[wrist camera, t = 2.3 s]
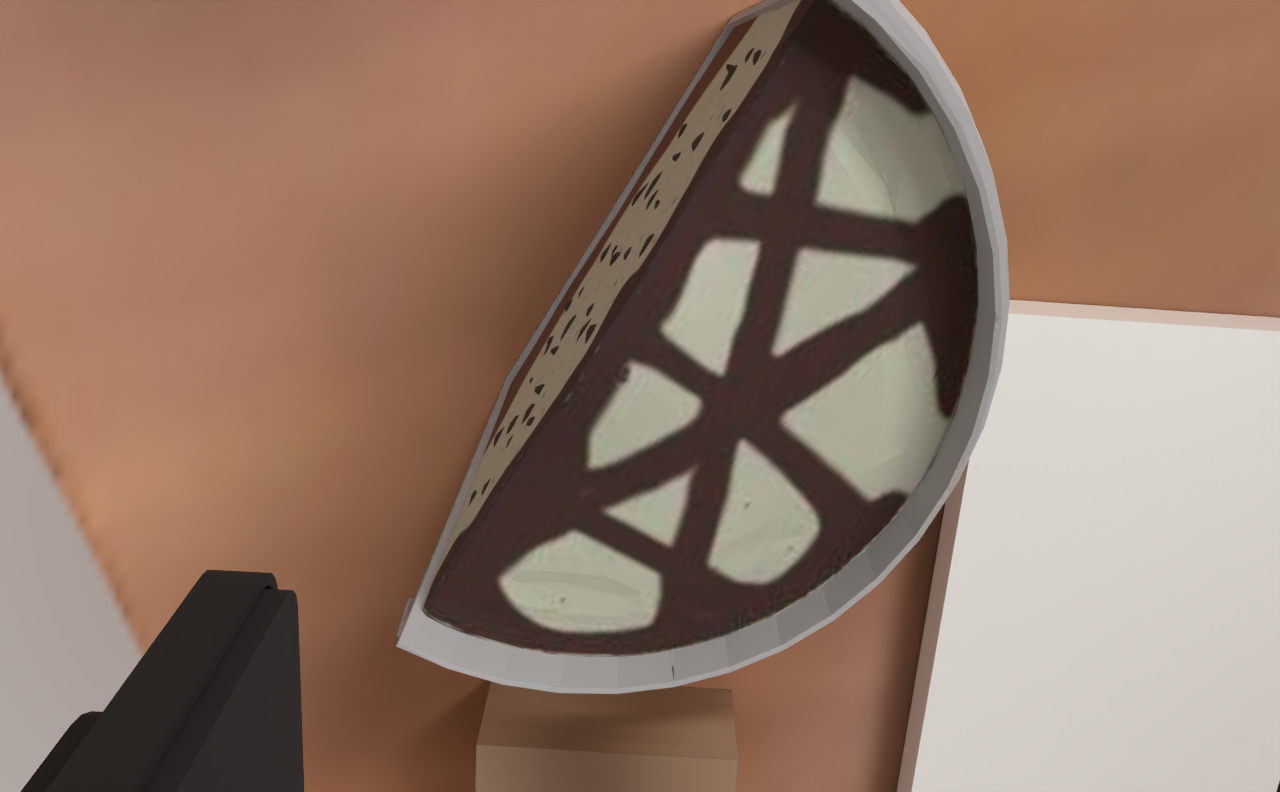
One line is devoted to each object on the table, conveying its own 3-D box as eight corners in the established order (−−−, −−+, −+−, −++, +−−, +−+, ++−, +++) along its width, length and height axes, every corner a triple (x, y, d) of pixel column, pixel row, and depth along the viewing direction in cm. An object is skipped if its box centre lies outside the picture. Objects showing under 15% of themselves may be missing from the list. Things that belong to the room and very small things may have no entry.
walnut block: (730, 686, 30) (738, 761, 27) (720, 784, 31) (726, 866, 28) (493, 671, 30) (476, 744, 27) (490, 770, 31) (474, 850, 28)
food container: (696, 558, 28) (717, 849, 19) (473, 431, 27) (378, 673, 18) (1016, 115, 25) (1240, 202, 15) (774, -52, 24) (854, -68, 14)
